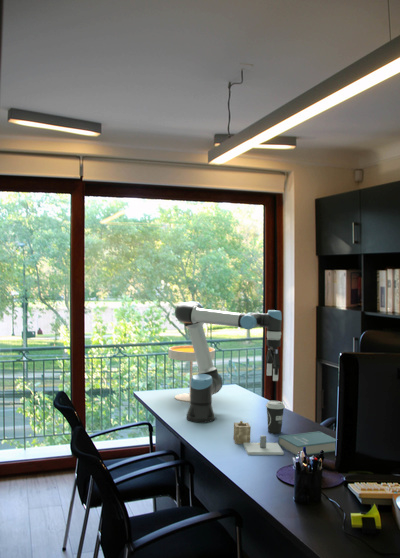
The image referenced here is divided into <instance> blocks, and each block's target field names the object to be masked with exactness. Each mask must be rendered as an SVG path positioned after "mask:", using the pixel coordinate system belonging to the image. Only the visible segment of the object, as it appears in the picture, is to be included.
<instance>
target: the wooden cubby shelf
mask: <svg viewBox="0 0 400 558" xmlns="http://www.w3.org/2000/svg"><path fill="white" fill-rule="evenodd" d="M251 430H252V429H251V425H250V423H249V422H243V421H242V420H240V422H233V438H232V439H233V442H234V443H235V444H236V445H238V444H239V445H240V444H241V445H243V443H251V432H252V431H251Z"/></svg>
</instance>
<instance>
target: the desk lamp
mask: <svg viewBox="0 0 400 558" xmlns="http://www.w3.org/2000/svg"><path fill="white" fill-rule="evenodd" d="M208 348H209V351H210V355H211V359H212V360H214V359H215V357H216V349H215V348H214V347H210V346H208ZM167 353H168V355H167V358H169V359H170V360H176V361H183V362H190V365H189V368H190V369H189V393H188V392H187V393H179V394H176V395H175V396H174V399H175V400H177V401H179V402H185V403H186V402H187V403H190V392H191V385H190V383H191V378H192V377H193V362H197V361H196V357H195V353H194V349H193V345H174V346H170V347H168V352H167Z"/></svg>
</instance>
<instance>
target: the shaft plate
mask: <svg viewBox="0 0 400 558" xmlns="http://www.w3.org/2000/svg"><path fill="white" fill-rule="evenodd" d="M259 437H260V438H259V442H250V443H243V444H242V445H243V448H244V450H245V452H246V454H247V455H248V456H279V455H280V456H283V455H285V454H284V450H283V449H282V447H281V446H279V444H278V442H267V436H266V435H260V436H259Z"/></svg>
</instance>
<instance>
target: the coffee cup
mask: <svg viewBox="0 0 400 558" xmlns="http://www.w3.org/2000/svg"><path fill="white" fill-rule="evenodd" d="M285 407H286V406H285V405H284V402H283V401H279V400H268V401H267V402H266V405H265V408H266V420H267V433H268V434H271V433H273V434H272V435H279V434H281V433H282V425H283V417H284V410H285Z"/></svg>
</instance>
